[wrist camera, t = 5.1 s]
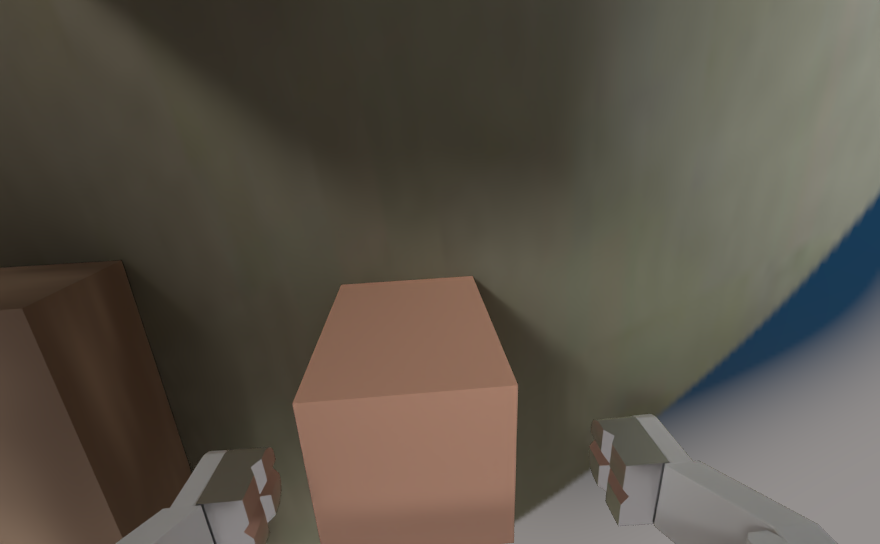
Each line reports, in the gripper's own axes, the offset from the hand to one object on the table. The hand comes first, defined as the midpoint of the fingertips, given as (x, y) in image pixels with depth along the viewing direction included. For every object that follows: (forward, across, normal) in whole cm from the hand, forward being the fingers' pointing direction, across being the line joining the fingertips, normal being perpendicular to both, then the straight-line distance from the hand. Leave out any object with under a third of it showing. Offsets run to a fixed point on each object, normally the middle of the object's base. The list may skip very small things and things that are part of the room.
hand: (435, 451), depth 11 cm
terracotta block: (+6, +1, 0) cm, 6 cm away
